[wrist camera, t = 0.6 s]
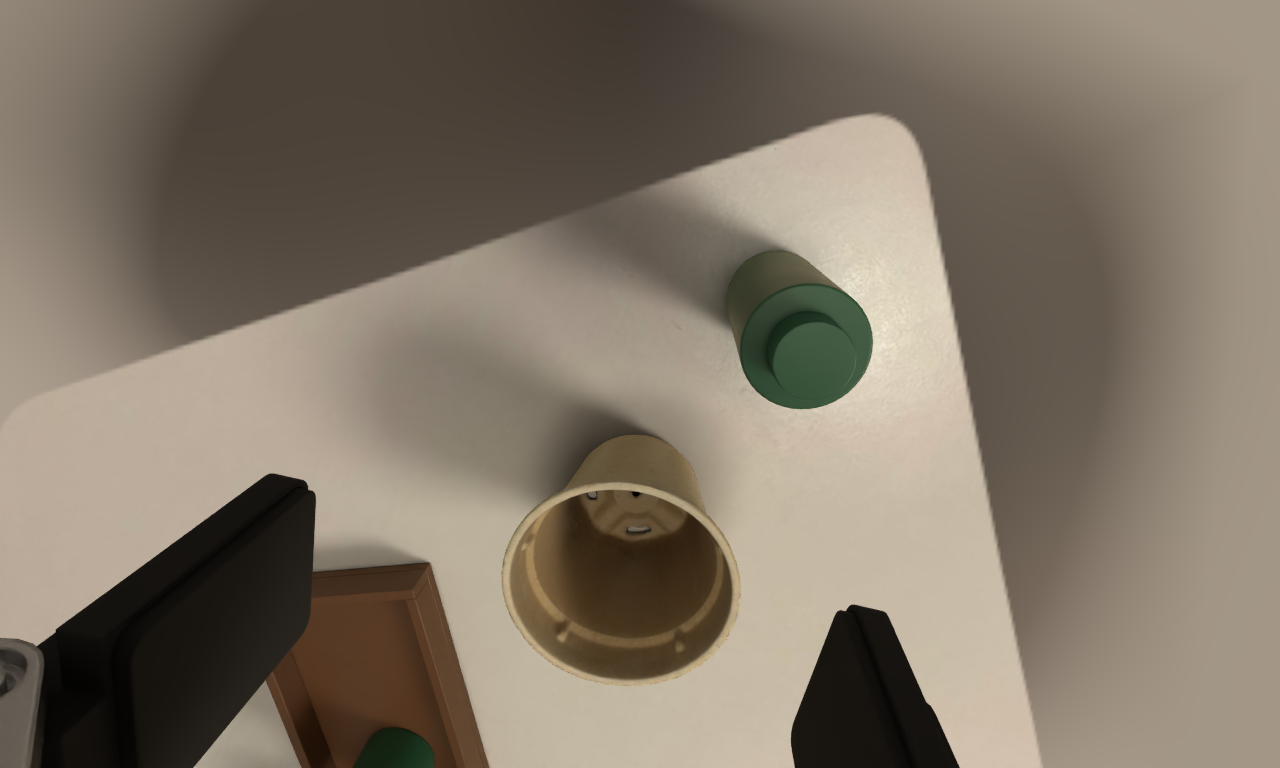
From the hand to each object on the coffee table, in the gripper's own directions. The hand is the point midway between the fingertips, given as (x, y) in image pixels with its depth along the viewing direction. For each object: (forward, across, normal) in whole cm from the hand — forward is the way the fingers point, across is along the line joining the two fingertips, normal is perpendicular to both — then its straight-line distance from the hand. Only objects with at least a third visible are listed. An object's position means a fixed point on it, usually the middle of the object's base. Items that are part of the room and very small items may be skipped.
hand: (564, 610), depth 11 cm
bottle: (+20, -6, -3) cm, 21 cm away
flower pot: (+20, -1, +8) cm, 22 cm away
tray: (+20, +9, +29) cm, 37 cm away
